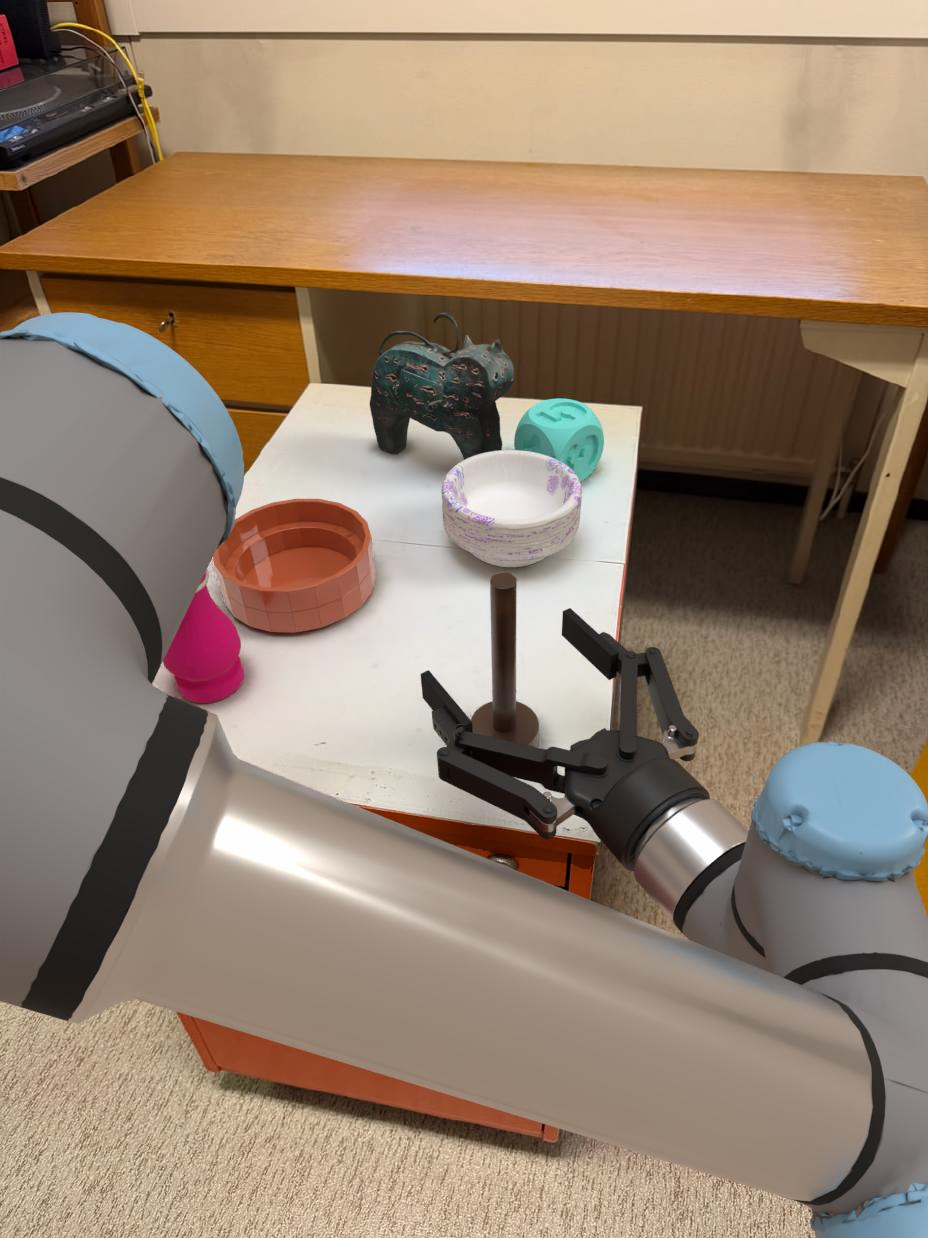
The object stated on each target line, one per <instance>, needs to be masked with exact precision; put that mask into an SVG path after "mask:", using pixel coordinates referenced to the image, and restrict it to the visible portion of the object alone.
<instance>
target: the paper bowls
mask: <svg viewBox="0 0 928 1238" xmlns="http://www.w3.org/2000/svg"><path fill="white" fill-rule="evenodd" d="M581 482H582V481H581ZM581 482H580V480H579V479H578V477H577V475H576V474H575V472H574V471H573V470H572V469H570V468H569V467H568V466H567V465H565V464H564V463H562V462H560V461H558V460H556V459H554V458H552V457H549V456H546V455H543V454H539V453H535V452H529V451H520V450H515V449H502V450H500V451H491V452H486V453H482V454H478V455H475V456H472V457H470V458H467V459H465V460H463V459H462V460H461V461H460V462H458V463H456V465H454V466H453V467H451V469H449V470H448V472H447V473H446V475H445V476H444V478H443V481H442V485H441V511H442V523H443V528H444V530H445V533H446V535H447V536H448V538H449V539H450V540H451V541H452V542H453V543H454V544H455V545H456V546H458V547H459V548H460V549H462V550H464V551H466V552H468V553H471V554H472V555H473V556H474V557H475V558H477V559H478V560H480V561H482V562H484V563H487V564H489V565H492V566H497V567H502V568H521V567H526V566H531V565H534V564H536V563H539V562H541V561H543V560H544V559H546V558H547V557H549V556H551V555H554V554H556V553H559V552H560V551H562V550H563V549H565V548H566V547H567V546H569V545H570V544H571V543H572V541H573V539H575V536H576V535H577V534H578V530H579V527H580V526H579V525H580V522H581V521H580V520H581V509H582V499H583V486H582V483H581Z"/></svg>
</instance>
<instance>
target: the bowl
mask: <svg viewBox="0 0 928 1238" xmlns="http://www.w3.org/2000/svg"><path fill="white" fill-rule="evenodd" d="M373 548H374V546H373V538H372V533H371V531H370V527H369V523H368V521H367V520H366V519H365V518H364V517H363V516H362V515H361V514H360V513H359V511H357V510H355V509H353V508H351V507H349V506H347V505H345V504H343V503H341V502H337V501H332V500H328V499H322V498H292V499H285V500H279V501H273V502H270V503H268V504H264V505H262V506H261V505H260V506H259V507H256V508H252V509H251V510H249V511H247V512H245V513H244V514H242V515H240V516H238V517H237V518H235V523H234V527H233V529H232V531H231V533H230V535H229V537H228V539H227V540H226V541H225V542H223V543H222V544H221V545H220V546H219V547H218V549H216V551H215V553H214V555H213V557H212V560H213V561H212V562H213V566H214V570H215V573H216V577H217V580H218V584H219V587H220V591H221V595H222V598H223V601H224V604H225V606H226V607H227V609H228V610H229V612H230V614H232V617H234V618H235V619H237V620H238V621H240V622H242V623H243V624H245V625H246V626H248V627H250V628H253V629H259V630H261V631H266V632H269V633H300V632H306V631H312V630H316V629H321V628H325V627H327V626H329V625H332V624H334V623H336V622H338V621H341V620H343V619H346V618H347V617H348V616H349V615H352V614H353V613H354V612H355V611H356V610H359V608H361V607H362V606H363V605H364V604H365V602H366V601H367V600H368V598H369V597H370V595H371V594H372V593H373V591H374V588H375V583H376V578H377V570H376V562H375V555H374V554H375V553H374V549H373Z"/></svg>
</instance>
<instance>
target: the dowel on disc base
mask: <svg viewBox="0 0 928 1238" xmlns="http://www.w3.org/2000/svg"><path fill="white" fill-rule="evenodd" d="M517 582H518V580H517V577H516V576H515V575H514V574H513V573H510V572H504V571H503V572H496V573H495V574H493V575H492V576H491V577H490V579H489V598H490V599H489V601H490V605H489V606H490V648H491V649H490V650H491V651H490V652H491V655H490V656H491V688H492V689H491V695H492V696H491V697H492V698H491V699H492V701H489V702H486V703H484V704H483V705H481V706H480V707H478V708H477V709H476V710H475V711H474V712H473V714H472V716H471V718H470V720H471V721H472V726H473V733H476V734H480V735H485V736H489V737H493V738H498V739H502V740H506V741H511V742H515V743H520V744H524V745H528V746H533V747H537V748H538V746H539V738H540V737H539V736H540V722H539V719H538V716H537V714H536V713H535V712H534V711H533V710H532V708H530V706H528V705H526V704H524V703H523V702H520V701H517V601H518V599H517V597H518V596H517V595H518V594H517V593H518V592H517V585H518V583H517Z"/></svg>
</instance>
